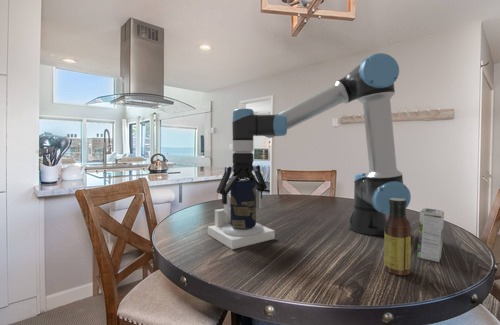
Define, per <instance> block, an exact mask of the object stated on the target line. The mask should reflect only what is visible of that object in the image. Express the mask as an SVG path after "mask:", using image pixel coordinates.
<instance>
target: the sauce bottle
mask: <svg viewBox="0 0 500 325" xmlns="http://www.w3.org/2000/svg"><path fill="white" fill-rule="evenodd" d="M389 204H390V212H389V215H388V217H387V222H386V225H385V232H384V233H385V235H384V249H383V250H384V256H383V258H384V259H383V260H384V262H383V264H384V265H385V266H384V268H385V270H386V271H387V272H389V274H390V273H391V274H392V275H395V276H408V275H410V273H411V268H412V267H411V266H412V264H411V263H412V261H411V260H412V258H411V257H412V253H411V252H412V249H411V247H412V234H411V224H410V221H409V220H408V219H407V217H406V216H407V214H406V209H405V206H406V204H407V203H406V199H403V198H390V199H389Z"/></svg>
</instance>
